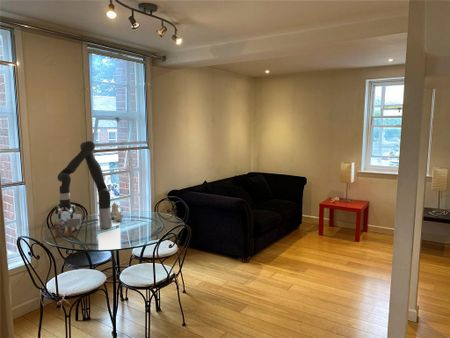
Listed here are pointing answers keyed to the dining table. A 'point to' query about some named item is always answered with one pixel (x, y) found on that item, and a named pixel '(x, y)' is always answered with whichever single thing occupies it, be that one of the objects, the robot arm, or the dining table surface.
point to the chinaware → (116, 213)
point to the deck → (58, 234)
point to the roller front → (72, 228)
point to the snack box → (62, 217)
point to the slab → (74, 220)
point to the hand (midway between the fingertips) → (65, 218)
